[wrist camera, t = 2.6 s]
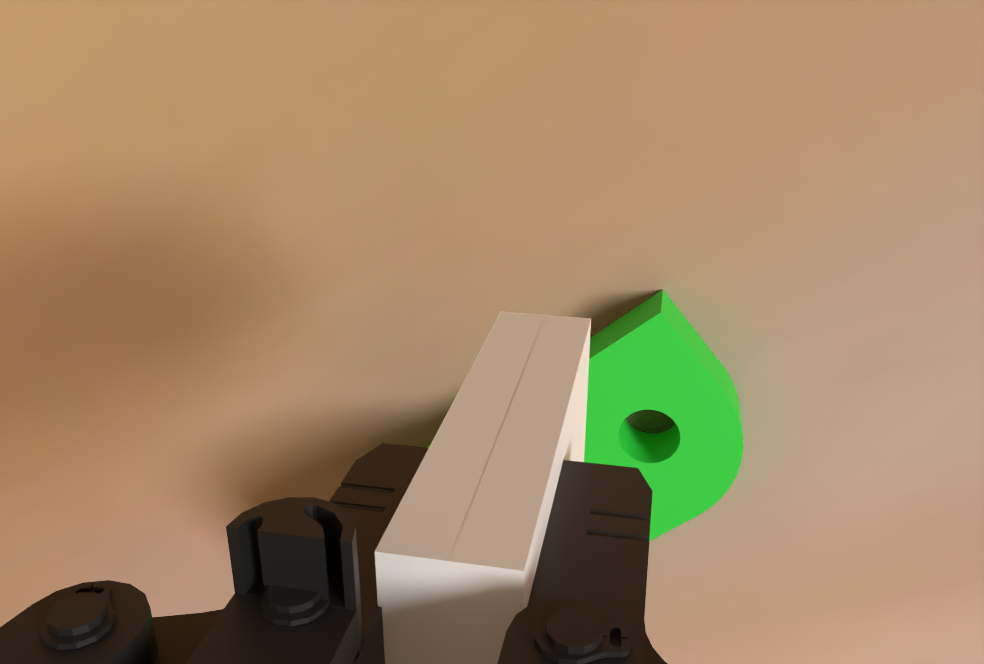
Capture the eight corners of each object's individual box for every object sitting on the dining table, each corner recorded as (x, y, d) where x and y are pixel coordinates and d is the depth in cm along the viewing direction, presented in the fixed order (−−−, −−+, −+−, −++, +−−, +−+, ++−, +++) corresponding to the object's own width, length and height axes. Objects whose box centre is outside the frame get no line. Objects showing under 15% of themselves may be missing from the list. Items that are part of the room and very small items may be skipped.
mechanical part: (489, 594, 32) (431, 780, 25) (380, 475, 31) (288, 634, 24) (779, 434, 28) (808, 607, 21) (662, 286, 27) (651, 415, 19)
